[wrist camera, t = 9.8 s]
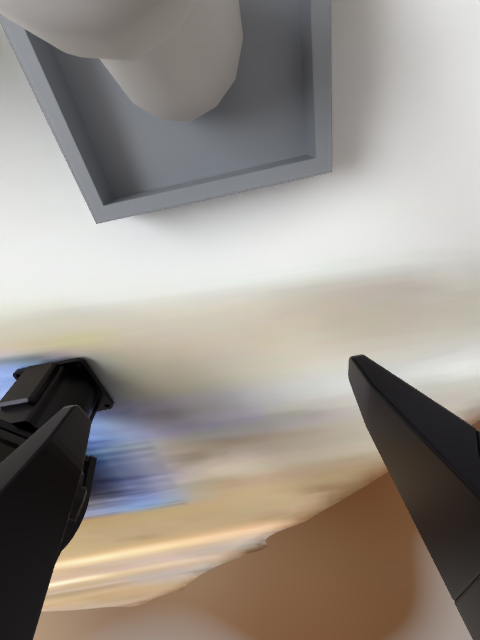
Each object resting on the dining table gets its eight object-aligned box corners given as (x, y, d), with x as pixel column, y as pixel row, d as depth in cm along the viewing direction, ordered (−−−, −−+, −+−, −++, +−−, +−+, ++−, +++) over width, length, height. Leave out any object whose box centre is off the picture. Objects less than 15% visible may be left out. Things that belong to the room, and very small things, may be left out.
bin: (316, 165, 17) (332, 171, 15) (113, 210, 18) (96, 223, 16) (301, -246, 10) (327, -369, 8) (-37, -137, 11) (-113, -215, 8)
